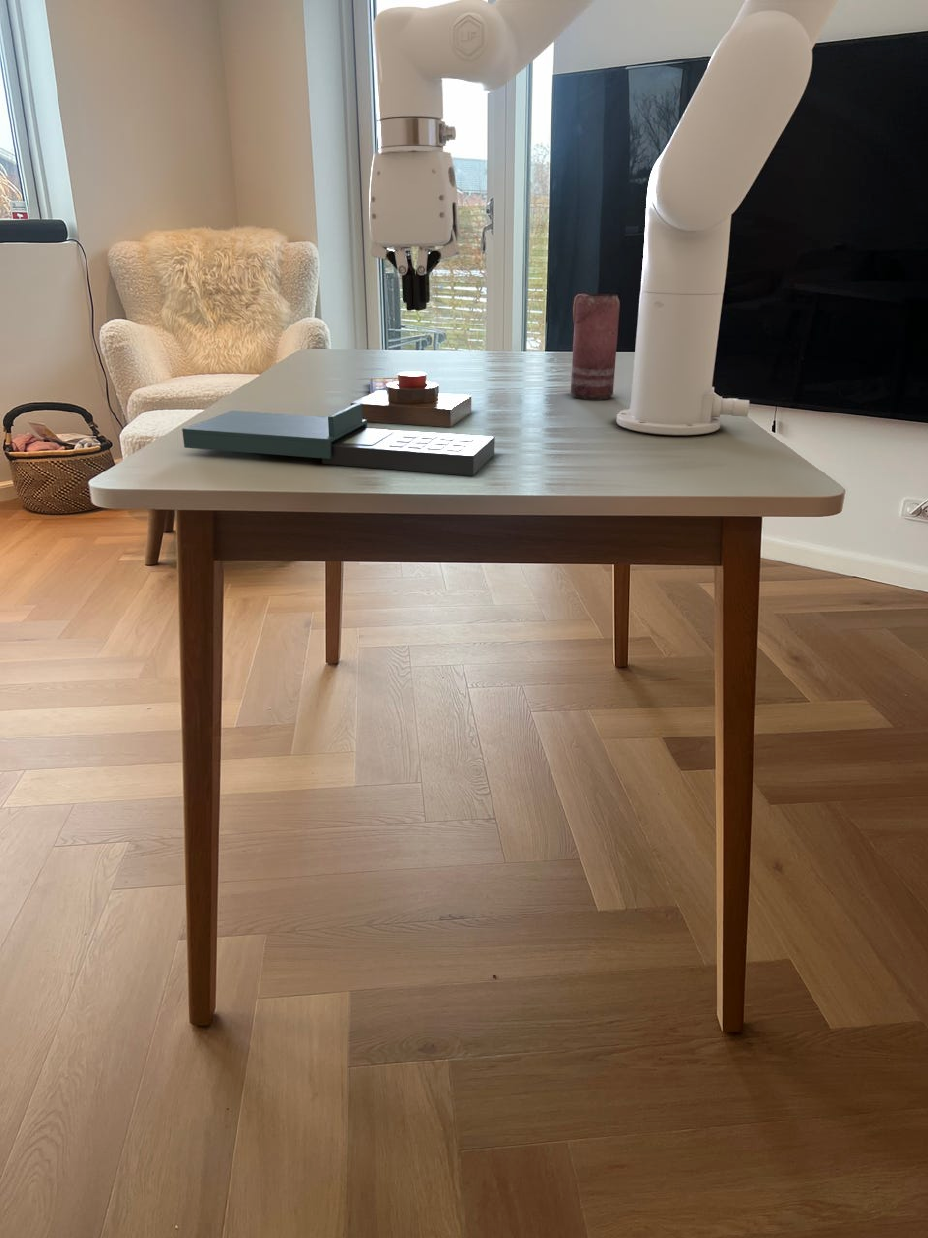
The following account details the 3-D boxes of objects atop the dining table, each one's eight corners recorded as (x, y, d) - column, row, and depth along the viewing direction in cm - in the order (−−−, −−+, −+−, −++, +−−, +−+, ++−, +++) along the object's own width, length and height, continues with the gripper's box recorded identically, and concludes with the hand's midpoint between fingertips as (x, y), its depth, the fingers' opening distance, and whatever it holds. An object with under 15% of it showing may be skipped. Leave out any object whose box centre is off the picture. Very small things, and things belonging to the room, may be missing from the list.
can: (565, 393, 129) (570, 292, 124) (607, 392, 130) (614, 292, 124) (573, 400, 124) (579, 295, 118) (616, 399, 124) (625, 295, 119)
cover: (367, 437, 97) (366, 400, 95) (330, 458, 88) (328, 419, 86) (233, 427, 101) (230, 392, 99) (184, 447, 92) (179, 409, 90)
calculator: (494, 455, 93) (494, 435, 92) (473, 476, 85) (473, 455, 85) (354, 445, 97) (354, 426, 96) (322, 464, 89) (320, 443, 88)
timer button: (430, 386, 112) (429, 372, 111) (421, 390, 109) (421, 376, 108) (403, 384, 113) (403, 370, 112) (394, 389, 110) (393, 375, 109)
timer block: (471, 412, 115) (471, 381, 114) (450, 427, 106) (450, 393, 105) (378, 406, 118) (377, 376, 117) (351, 420, 109) (349, 388, 108)
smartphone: (370, 402, 121) (370, 384, 135) (423, 400, 122) (417, 382, 135) (370, 395, 121) (369, 378, 134) (423, 393, 121) (417, 376, 135)
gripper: (482, 140, 101) (483, 307, 108) (361, 145, 105) (370, 306, 112) (465, 133, 94) (467, 312, 102) (337, 139, 98) (348, 311, 105)
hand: (416, 309), depth 107 cm, fingers closed
